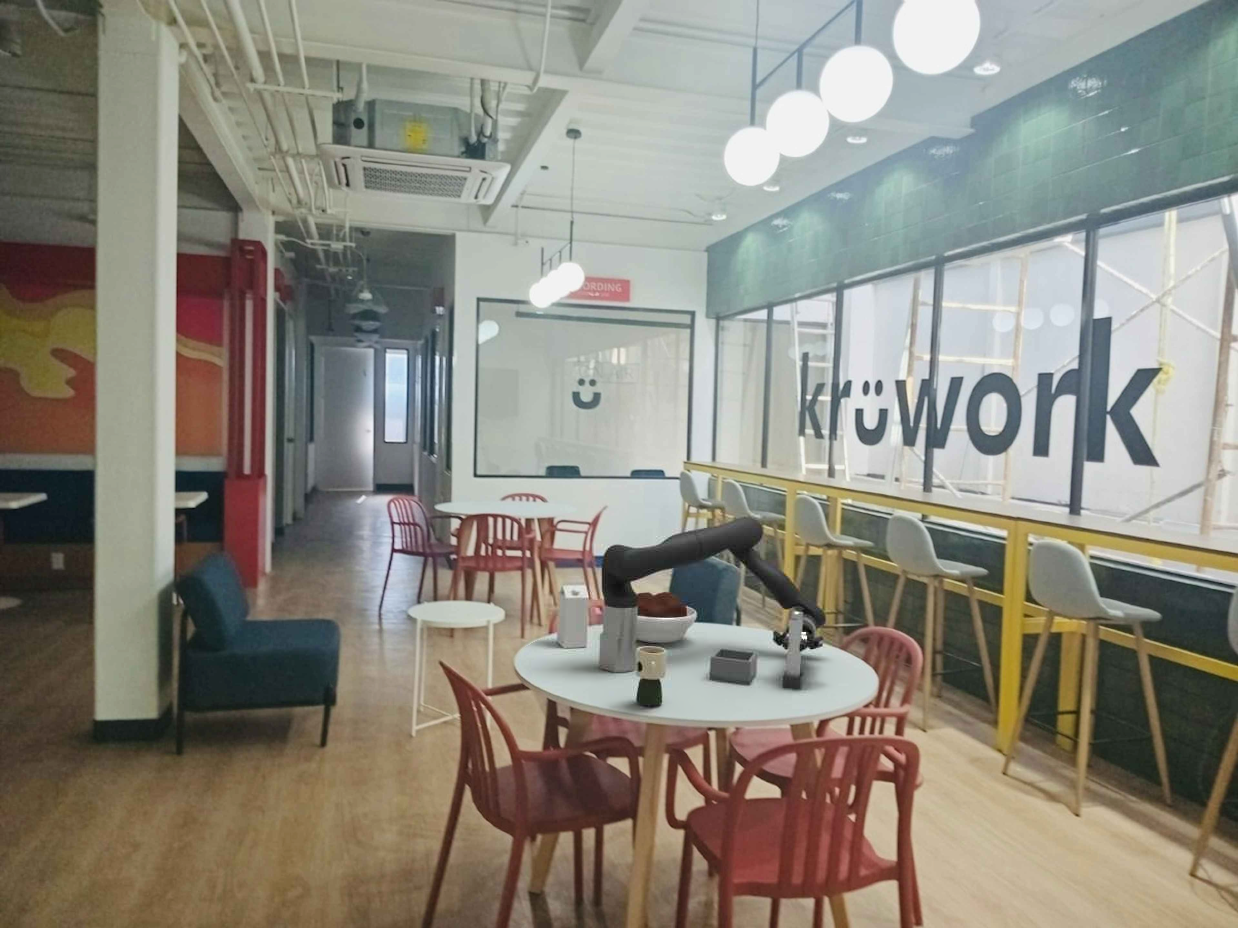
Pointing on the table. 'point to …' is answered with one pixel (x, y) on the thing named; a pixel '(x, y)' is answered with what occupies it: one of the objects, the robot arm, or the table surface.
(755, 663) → the holder
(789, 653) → the brushed steel column
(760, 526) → the robot arm
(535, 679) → the table surface
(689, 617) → the bowl of brownies
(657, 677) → the character mug
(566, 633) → the milk carton
